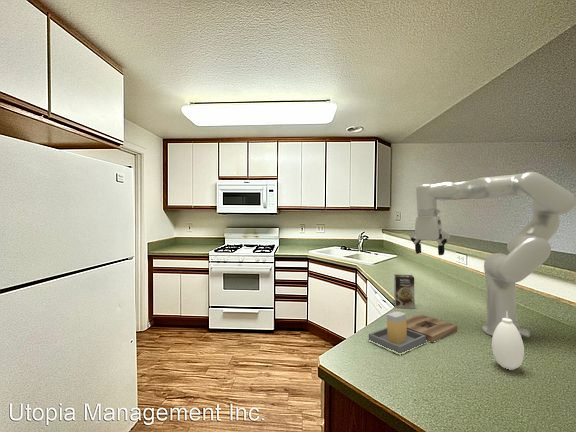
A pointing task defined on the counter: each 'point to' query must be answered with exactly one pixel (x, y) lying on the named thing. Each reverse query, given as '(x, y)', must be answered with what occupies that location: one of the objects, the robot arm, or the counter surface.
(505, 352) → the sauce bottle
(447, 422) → the counter surface
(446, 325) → the wooden plate with hole
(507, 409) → the counter surface
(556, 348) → the counter surface
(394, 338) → the block
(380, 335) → the parts tray
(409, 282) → the coffee box
